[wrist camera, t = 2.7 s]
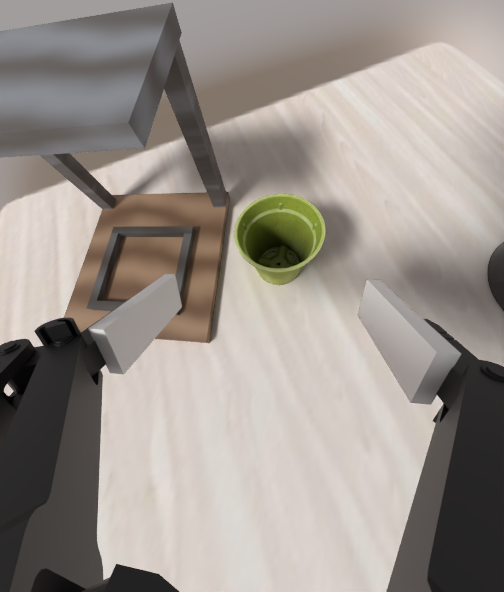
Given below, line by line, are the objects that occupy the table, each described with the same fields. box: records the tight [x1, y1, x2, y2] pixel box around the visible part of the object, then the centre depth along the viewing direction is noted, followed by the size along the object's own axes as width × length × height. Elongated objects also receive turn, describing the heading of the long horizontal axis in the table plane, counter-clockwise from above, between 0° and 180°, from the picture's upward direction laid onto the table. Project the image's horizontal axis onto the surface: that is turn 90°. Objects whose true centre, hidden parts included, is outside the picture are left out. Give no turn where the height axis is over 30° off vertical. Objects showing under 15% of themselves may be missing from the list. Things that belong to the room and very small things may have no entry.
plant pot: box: [234, 194, 326, 285], centre depth 25 cm, size 9×9×9 cm
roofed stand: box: [0, 3, 230, 343], centre depth 23 cm, size 24×22×20 cm
